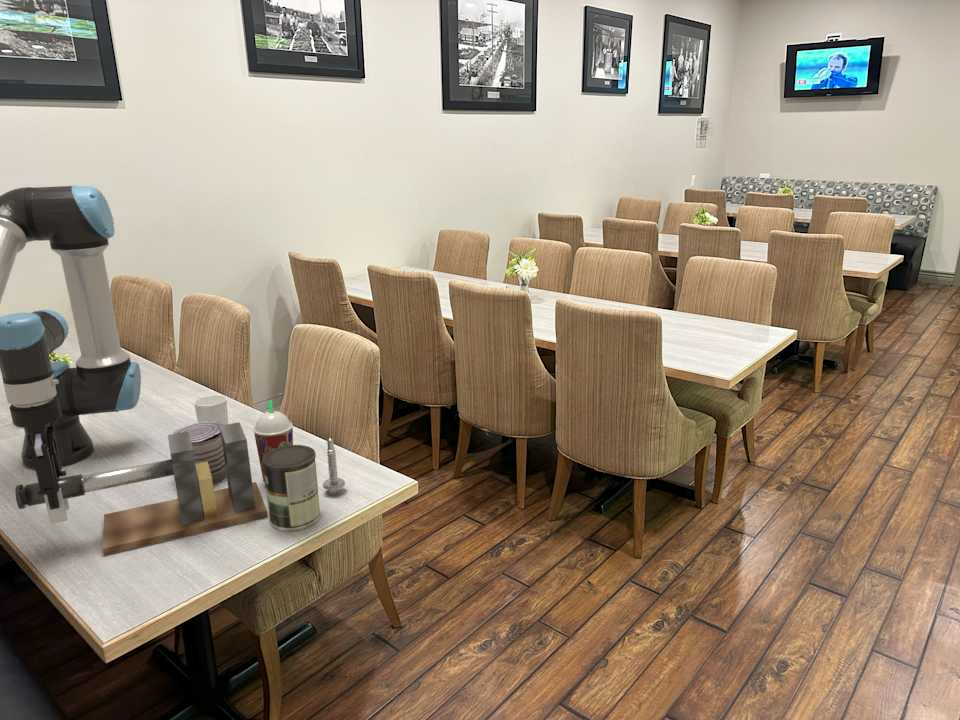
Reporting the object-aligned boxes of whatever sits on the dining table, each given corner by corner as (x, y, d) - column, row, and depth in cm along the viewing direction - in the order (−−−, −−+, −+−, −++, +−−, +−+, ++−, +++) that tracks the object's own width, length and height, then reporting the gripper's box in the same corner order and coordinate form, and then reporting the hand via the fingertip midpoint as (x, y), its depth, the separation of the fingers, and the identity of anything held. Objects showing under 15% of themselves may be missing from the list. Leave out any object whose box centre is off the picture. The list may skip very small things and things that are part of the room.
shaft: (19, 513, 124) (14, 491, 123) (22, 502, 128) (17, 481, 126) (185, 479, 136) (181, 459, 134) (183, 470, 140) (180, 450, 138)
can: (225, 487, 153) (218, 437, 150) (171, 491, 152) (163, 442, 148) (234, 464, 164) (227, 418, 160) (184, 468, 162) (176, 421, 159)
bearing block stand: (103, 555, 128) (86, 474, 123) (105, 520, 140) (89, 445, 135) (267, 516, 141) (258, 441, 135) (256, 487, 153) (247, 417, 147)
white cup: (236, 430, 184) (231, 395, 181) (222, 442, 176) (217, 406, 173) (208, 429, 185) (202, 394, 181) (193, 441, 177) (188, 405, 174)
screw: (343, 497, 148) (321, 497, 148) (347, 486, 153) (325, 486, 153) (339, 442, 144) (316, 442, 144) (343, 433, 149) (321, 433, 149)
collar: (204, 518, 138) (198, 480, 135) (200, 499, 145) (194, 463, 142) (217, 515, 139) (212, 477, 136) (212, 497, 146) (207, 461, 143)
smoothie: (305, 477, 157) (297, 395, 151) (284, 494, 150) (274, 409, 144) (274, 472, 160) (265, 392, 154) (252, 488, 152) (241, 405, 146)
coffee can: (264, 533, 135) (256, 468, 131) (275, 506, 145) (267, 445, 140) (317, 530, 136) (311, 465, 131) (324, 504, 145) (318, 443, 141)
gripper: (53, 412, 116) (80, 532, 124) (61, 382, 131) (84, 491, 138) (1, 420, 113) (31, 543, 120) (15, 389, 128) (41, 500, 135)
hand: (60, 515), depth 129 cm, fingers closed on shaft, 4 cm apart
